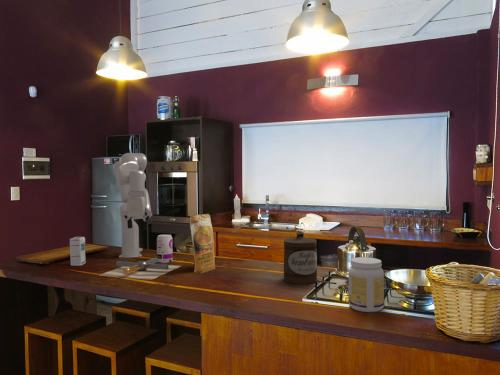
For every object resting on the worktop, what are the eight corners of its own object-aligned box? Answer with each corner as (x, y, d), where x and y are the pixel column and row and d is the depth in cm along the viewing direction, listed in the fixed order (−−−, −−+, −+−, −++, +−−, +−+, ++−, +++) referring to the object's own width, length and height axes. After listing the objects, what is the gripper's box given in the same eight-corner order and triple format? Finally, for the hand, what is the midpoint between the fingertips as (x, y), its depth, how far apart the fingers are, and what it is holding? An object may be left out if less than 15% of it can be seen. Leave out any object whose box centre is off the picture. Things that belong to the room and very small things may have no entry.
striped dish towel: (133, 264, 210) (133, 261, 210) (181, 268, 201) (181, 265, 201) (98, 277, 183) (98, 274, 183) (151, 282, 175) (151, 279, 175)
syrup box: (81, 265, 208) (80, 238, 208) (70, 265, 208) (69, 238, 208) (85, 263, 214) (85, 236, 213) (75, 263, 214) (74, 236, 213)
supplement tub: (376, 301, 147) (377, 256, 146) (389, 312, 135) (389, 263, 134) (344, 302, 147) (344, 256, 146) (354, 313, 134) (354, 264, 134)
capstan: (133, 261, 210) (133, 254, 210) (181, 265, 201) (181, 258, 201) (98, 274, 183) (98, 266, 183) (151, 278, 175) (151, 270, 175)
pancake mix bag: (185, 274, 189) (184, 215, 188) (209, 266, 205) (209, 212, 205) (196, 275, 186) (195, 216, 185) (220, 267, 202) (219, 213, 201)
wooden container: (290, 285, 169) (290, 234, 168) (279, 277, 183) (279, 229, 182) (322, 282, 173) (322, 232, 172) (308, 274, 187) (308, 228, 186)
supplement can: (174, 261, 217) (174, 234, 217) (169, 265, 209) (169, 236, 208) (160, 261, 218) (159, 234, 217) (155, 264, 210) (154, 236, 209)
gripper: (118, 194, 201) (118, 229, 202) (147, 195, 196) (148, 230, 196) (126, 194, 208) (127, 227, 209) (156, 194, 203) (156, 228, 204)
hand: (137, 228), depth 203 cm, fingers open, 8 cm apart
